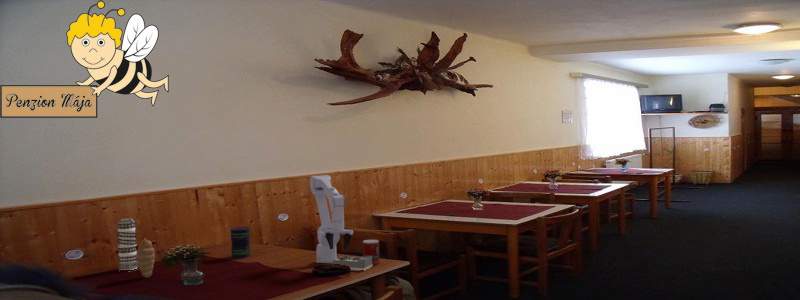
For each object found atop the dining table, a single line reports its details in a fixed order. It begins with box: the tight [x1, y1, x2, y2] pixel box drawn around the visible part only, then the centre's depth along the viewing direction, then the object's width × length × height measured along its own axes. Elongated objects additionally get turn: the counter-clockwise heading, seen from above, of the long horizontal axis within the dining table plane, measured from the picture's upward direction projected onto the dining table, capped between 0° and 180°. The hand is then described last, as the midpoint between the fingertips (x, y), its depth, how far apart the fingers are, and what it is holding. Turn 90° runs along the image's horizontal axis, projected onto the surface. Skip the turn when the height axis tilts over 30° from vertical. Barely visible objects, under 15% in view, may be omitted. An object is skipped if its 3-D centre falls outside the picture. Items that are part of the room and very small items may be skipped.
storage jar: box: [230, 226, 251, 259], centre depth 315 cm, size 10×10×15 cm
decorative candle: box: [116, 217, 139, 271], centre depth 290 cm, size 9×9×25 cm
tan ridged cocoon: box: [136, 237, 156, 279], centre depth 272 cm, size 9×8×18 cm
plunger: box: [340, 255, 354, 260], centre depth 280 cm, size 4×7×4 cm
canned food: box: [362, 239, 380, 266], centre depth 288 cm, size 8×8×11 cm
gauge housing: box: [332, 255, 374, 271], centre depth 280 cm, size 17×10×5 cm, turn 71°
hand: (338, 249), depth 282 cm, fingers open, 7 cm apart
